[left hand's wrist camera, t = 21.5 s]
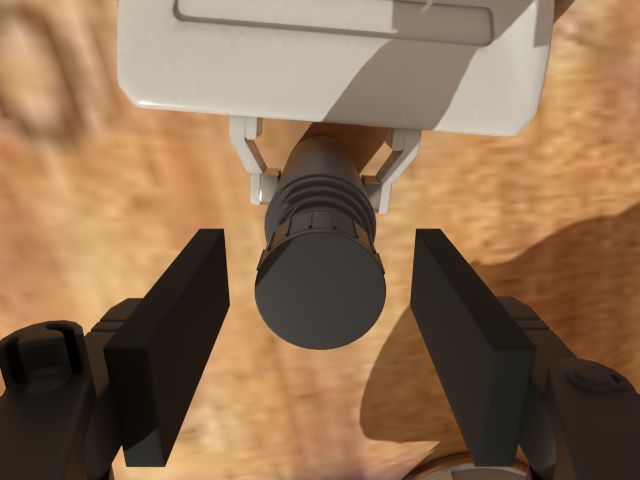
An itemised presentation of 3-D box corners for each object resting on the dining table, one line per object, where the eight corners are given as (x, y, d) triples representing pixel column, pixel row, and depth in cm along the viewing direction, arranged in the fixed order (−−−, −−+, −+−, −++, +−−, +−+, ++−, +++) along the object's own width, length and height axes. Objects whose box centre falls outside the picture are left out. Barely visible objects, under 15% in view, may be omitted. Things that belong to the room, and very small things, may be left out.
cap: (393, 298, 15) (403, 330, 13) (286, 330, 15) (281, 367, 13) (358, 193, 13) (365, 212, 12) (243, 232, 14) (231, 256, 12)
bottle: (296, 126, 29) (263, 190, 12) (362, 146, 29) (419, 234, 12) (279, 192, 30) (228, 330, 14) (342, 209, 31) (369, 364, 14)
